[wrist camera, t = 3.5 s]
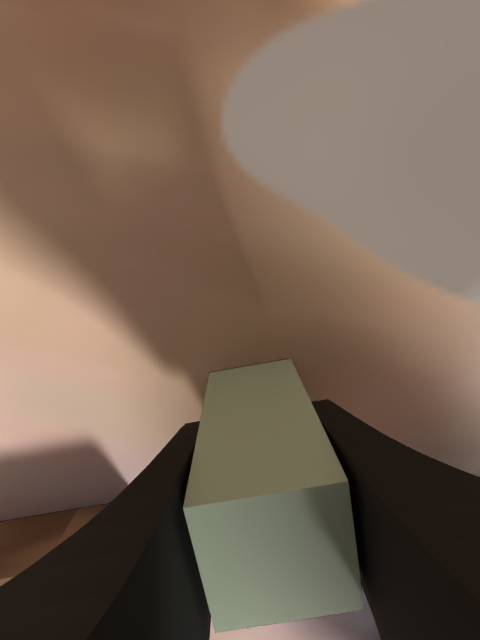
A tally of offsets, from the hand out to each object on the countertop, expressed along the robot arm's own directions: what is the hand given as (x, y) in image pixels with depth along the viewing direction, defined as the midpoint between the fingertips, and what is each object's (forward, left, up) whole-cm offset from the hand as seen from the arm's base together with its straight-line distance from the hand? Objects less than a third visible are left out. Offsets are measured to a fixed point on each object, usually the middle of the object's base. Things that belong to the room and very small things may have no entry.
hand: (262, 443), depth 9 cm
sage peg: (0, 0, -2) cm, 2 cm away
